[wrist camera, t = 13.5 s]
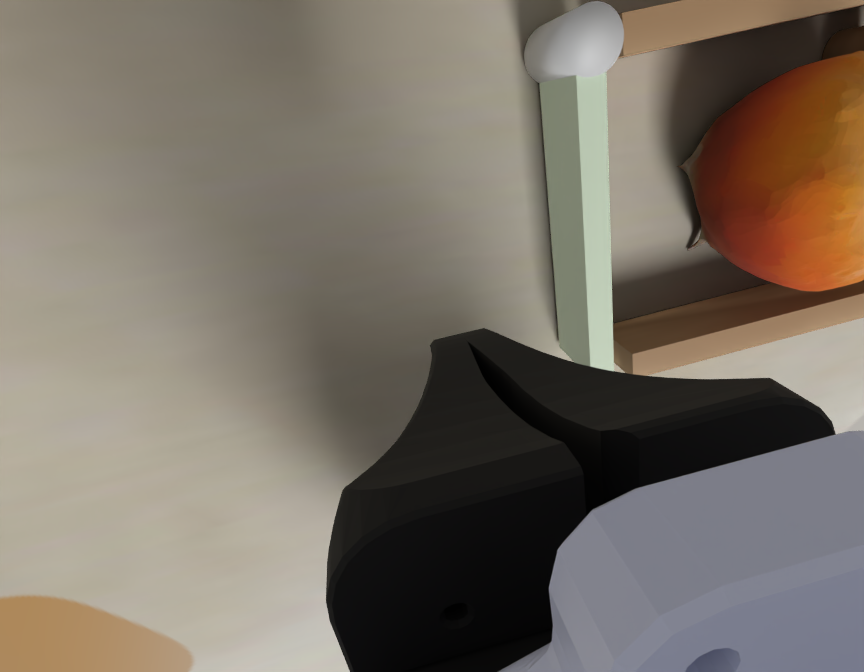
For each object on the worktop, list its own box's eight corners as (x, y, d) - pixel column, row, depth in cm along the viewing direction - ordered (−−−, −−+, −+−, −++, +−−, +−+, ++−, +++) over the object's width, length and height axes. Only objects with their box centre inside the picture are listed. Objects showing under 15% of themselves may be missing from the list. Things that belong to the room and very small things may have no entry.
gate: (521, 28, 18) (559, 7, 15) (574, 18, 18) (623, -5, 15) (549, 349, 23) (581, 384, 20) (589, 339, 23) (628, 372, 20)
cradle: (852, 283, 25) (940, 311, 21) (599, 349, 24) (646, 390, 20) (906, -39, 19) (1039, -78, 16) (580, 29, 18) (639, 5, 15)
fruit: (613, 162, 19) (894, 93, 12) (700, 76, 22) (959, -15, 16) (673, 326, 22) (919, 339, 16) (741, 230, 26) (968, 208, 19)
